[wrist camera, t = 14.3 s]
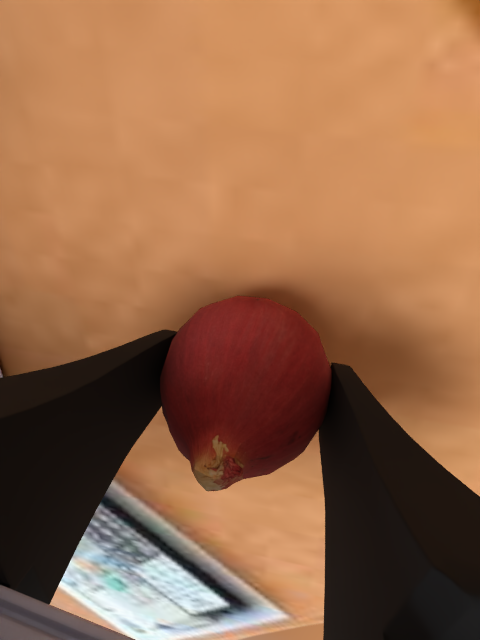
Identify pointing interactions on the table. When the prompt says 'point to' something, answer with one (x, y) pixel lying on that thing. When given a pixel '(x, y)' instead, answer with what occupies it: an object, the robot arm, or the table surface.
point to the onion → (244, 389)
